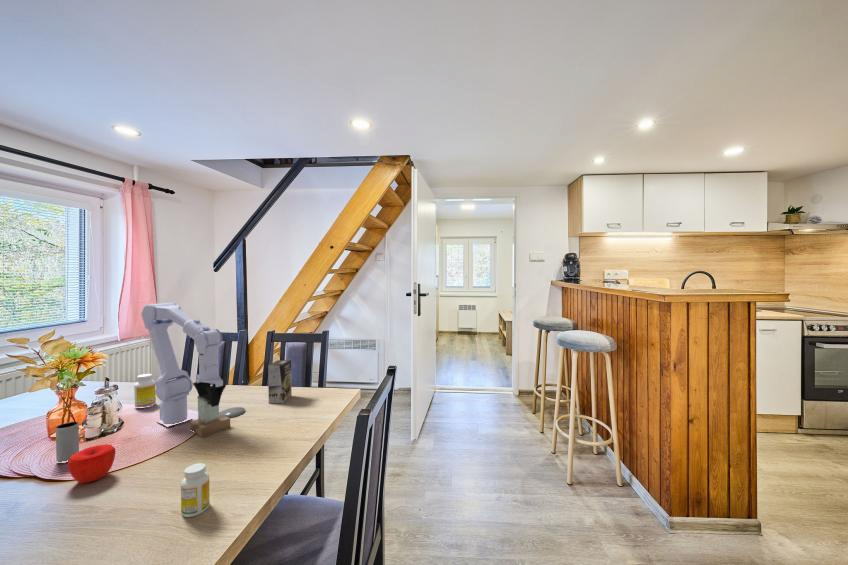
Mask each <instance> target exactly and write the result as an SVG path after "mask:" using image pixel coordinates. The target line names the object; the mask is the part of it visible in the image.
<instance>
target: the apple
mask: <svg viewBox="0 0 848 565" xmlns="http://www.w3.org/2000/svg"><path fill="white" fill-rule="evenodd" d="M115 458H116V447H115V446H113V445H112V444H109V443H106V444H99V445H94V446H89V447H85V448H83V449H82V450H79V452H78V453H76V454H74V455H72V456H71V457H70V459H69V460H68V463H67V470H68V472H69V474H70V475H71V477H72V478H73V479H74V481H76V482H77V483H79V484H86V483H91V482H94V481H98V480H100V479H102V478H104V477H105V476H107V474H108V473H109V472H110V470H111V469H112V467H113V464H114V461H115Z"/></svg>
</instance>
